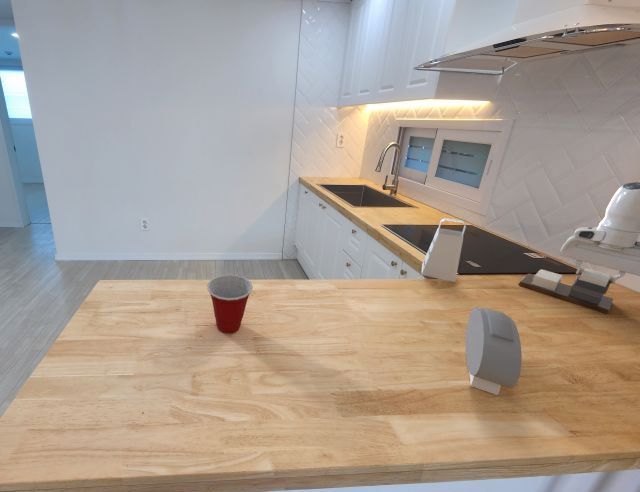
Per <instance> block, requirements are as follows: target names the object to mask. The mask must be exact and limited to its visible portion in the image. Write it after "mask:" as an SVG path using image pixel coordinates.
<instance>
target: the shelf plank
mask: <svg viewBox="0 0 640 492" xmlns="http://www.w3.org/2000/svg"><path fill="white" fill-rule="evenodd" d="M535 275H536V274H532V273H527V274H526V275H525V276H524V277H523V278H522V279H521V280H520V281H519V282H518V286H519V287H523V288H525V289H528V290H531V291H535V292H538V293H541V294H544V295H547V296H550V297H553V298H555V299H560V300H562V301H565V302H569V303H572V304H575V305H578V306H581V307H584V308H587V309H591V310H593V311H597V312H598V313H599V312H600V313H603V314H608V313H609V312H610V309H611V306H612V303H613V300H614V298H612V297H609V296H607V295H603V297H602V299H601V301H600V303H599V305H596V304H593V303H590V302H587V301H584V300H581V299H577V298H574V297H571V296H568V295H569V293H570V291H571V290H570V289H571V287H572V285H570V284H565V283H563V282H560V284H559V285H558V287H557V288H556V289H555V291H553V290H549V289H546V288H543V287H540V286H537V285H534V284H532V282H533V278H534V276H535Z"/></svg>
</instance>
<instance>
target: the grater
mask: <svg viewBox="0 0 640 492" xmlns="http://www.w3.org/2000/svg"><path fill="white" fill-rule="evenodd" d="M445 221H447V222H452V223H453V222H454V223H459V224H463V228H462V230H461V231H460V230H453V229H448V228H442V227H441V224H442V223H443V222H445ZM466 228H467V225H466V224H465V222H464V220H460V219H454V218H447V217H443V218H442V219H440V221H439V224H438V227H437V229H436V231H435V233H434V236H433V239H432V241H431V243H430V245H429V248H428V250H427V252H426V254H425V256H424V258H423V261H422V264H421V276H424V277H429V278H434V279H438V280H443V281H447V282H451V283H456V282H457V281H456V280H457V275H458V269H459V264H460V258H461V253H462V247H463V243H464V234H465V231H466Z"/></svg>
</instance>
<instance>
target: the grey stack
mask: <svg viewBox="0 0 640 492" xmlns="http://www.w3.org/2000/svg"><path fill="white" fill-rule="evenodd" d="M580 276H581V275H579V276H576V279H575V280H574V282H573V283H572V285H571V286H572V287H571V289H570V290H571V291H570V293H569V295H568V296H571V297H574V298H577V299H581V300H584V301H587V302H590V303H593V304H596V305H599V303H600V301H601V299H602V297H603V296H604V295H606V293H607V292H608V290H609V288H610V285H611V283H607V285H606V287H604V286H600V285H597V284H593V283H589V282H586V281H582V280H579V278H580Z"/></svg>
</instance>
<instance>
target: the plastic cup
mask: <svg viewBox="0 0 640 492" xmlns="http://www.w3.org/2000/svg"><path fill="white" fill-rule="evenodd" d="M206 288H207V292H208V293H209V294H210V295H209V296H210V298H211V302H212V308H213V313H214V318H215V323H216V328H217V330H218V331H219V332H221V333H224V334H234V333H236V332H237V331H239V330H240V327H241V324H242V321H243V318H244V315H245V311H246V306H247V303H248V299H249V296H250V295H251V293H252V291H253V289H254V287H253V284H252V281H251V280H249V279H248V278H247V277H244V276H241V275H236V274H222V275H218V276H215V277H214V278H212V279H210V280H209V281H208V283H207V284H206Z"/></svg>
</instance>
